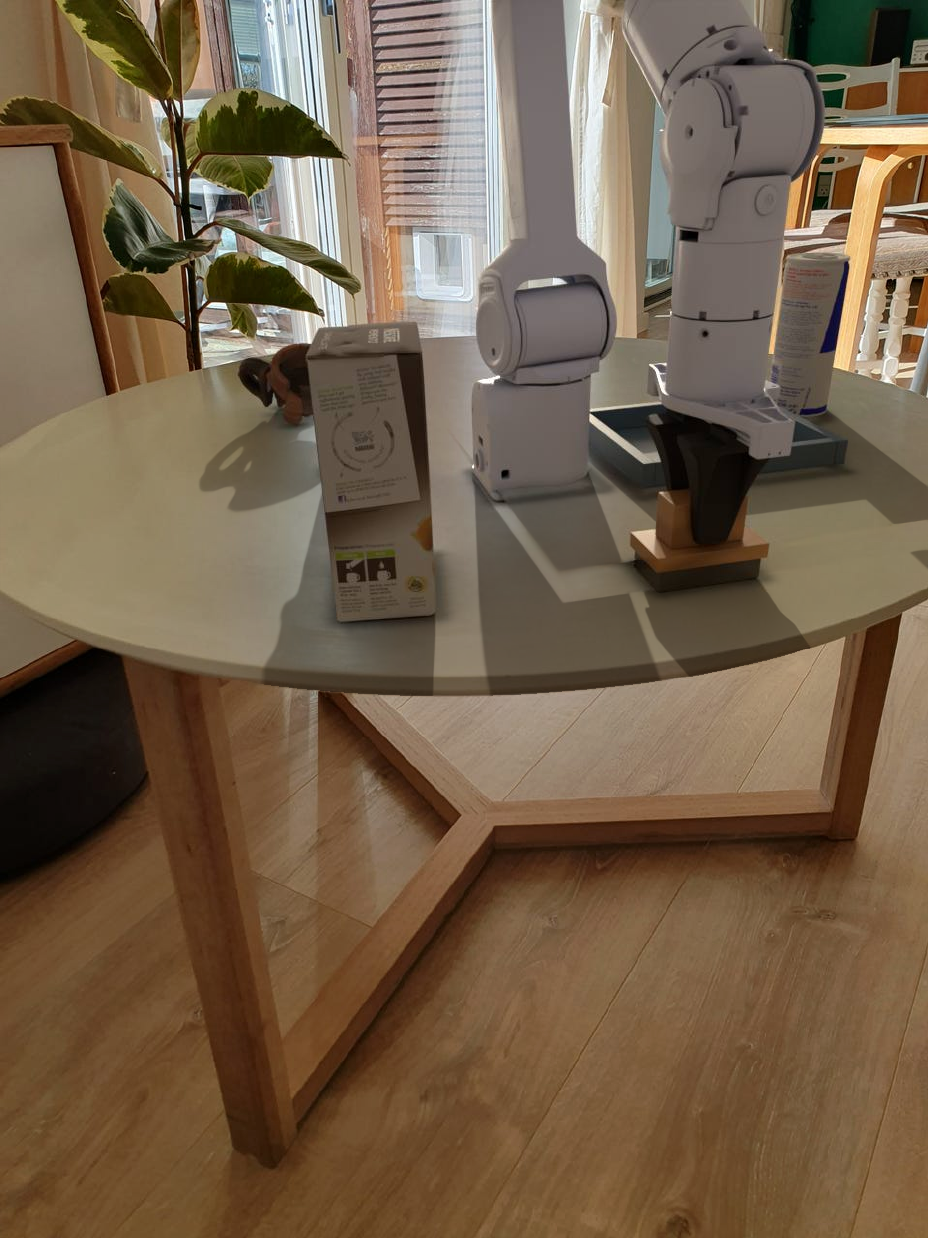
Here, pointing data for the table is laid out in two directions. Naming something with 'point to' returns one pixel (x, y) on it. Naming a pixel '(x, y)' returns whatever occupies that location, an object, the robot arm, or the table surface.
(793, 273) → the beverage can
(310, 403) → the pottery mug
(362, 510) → the coffee box
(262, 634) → the table surface
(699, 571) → the brush
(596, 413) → the tray
